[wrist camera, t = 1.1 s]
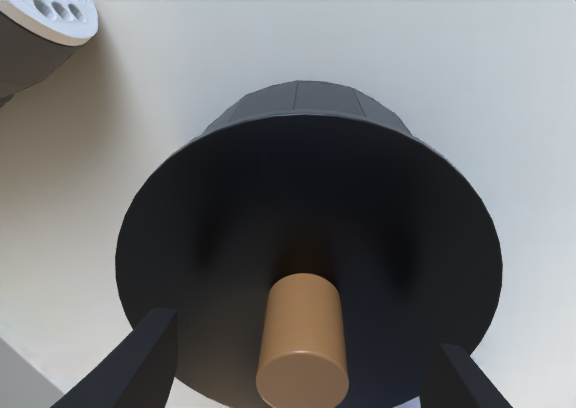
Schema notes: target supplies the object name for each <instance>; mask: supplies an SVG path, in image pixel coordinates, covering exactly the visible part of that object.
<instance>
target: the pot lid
mask: <svg viewBox="0 0 576 408" xmlns="http://www.w3.org/2000/svg"><path fill="white" fill-rule="evenodd" d="M502 268H503V263H502V255H501V248H500V242H499V239H498V235H497V232H496V229H495V226H494V223H493V220H492V218H491V216H490V214H489V212H488V211H487V209H486V207H485V205H484V203H483V201H482V199H481V198H480V196H479V195H478V194H477V193H476V191H475V190H474V189H473V187H472V186H471V185H470V183H469V182H468V181H467V179H466V178H465V177H464V176H463V175H462V174H461V173H460V172H459V171H458V170H457V169H456V168H455V167H454V166H453V165H452V164H451V163H450V162H449V161H448V160H447V159H446V158H445V157H444V156H443V155H441V154H440V153H438V152H437V151H436V150H434V149H433V148H431V147H430V146H428V145H427V144H426V143H424V142H423V141H421V140H420V139H418V138H416V137H414V136H412V135H410V134H408V133H406V132H404V131H402V130H400V129H398V128H396V127H394V126H391V125H388V124H385V123H383V122H380V121H377V120H374V119H371V118H368V117H364V116H359V115H354V114H349V113H344V112H339V111H331V110H315V109H296V110H281V111H272V112H267V113H262V114H257V115H252V116H247V117H243V118H241V119H238V120H235V121H232V122H229V123H226V124H223V125H220V126H218V127H216V128H214V129H212V130H210V131H208V132H206V133H204V134H202V135H200V136H198V137H196V138H194V139H193V140H191V141H190V142H188V143H187V144H186V145H184V146H183V147H181V148H180V149H178V150H177V151H176V152H174V153H173V154H172V155H171V156H170V157H169V158H167V159H166V160H165V161H164V162H163V163H162V164H161V165H160V166H159V167H158V168H157V169H156V170H155V171H154V172H153V173H152V174H151V175H150V177H149V178H148V179H147V181H146V182H145V183H144V185H143V186H142V187H141V189H140V190H139V191H138V193H137V194H136V195H135V197H134V199H133V201H132V203H131V205H130V207H129V209H128V210H127V212H126V214H125V217H124V220H123V223H122V226H121V229H120V232H119V235H118V241H117V248H116V255H115V270H116V282H117V287H118V293H119V298H120V300H121V303H122V306H123V309H124V312H125V315H126V317H127V319H128V321H129V323H130V325H131V327H132V329H133V330H134V329H135V327H136V326H137V325H138V324H139V323H140V322H141V321H142V320H143V319H144V318H145V317H146V316H147V315H148V313H149V312H150V311H151V310H152V309H154V308H155V307H158V308H166V309H174V310H178V361H179V362H178V366H177V370H176V373H175V377H176V378H177V379H178V380H180V381H181V382H183V383H184V384H185V385H187V386H188V387H190V388H192V389H193V390H195V391H197V392H199V393H200V394H202V395H204V396H206V397H207V398H210V399H212V400H214V401H216V402H219V403H221V404H223V405H225V406H228V407H231V408H393V407H396V406H399V405H402V404H404V403H406V402H408V401H410V400H412V399H414V398H416V397H418V396H419V390H420V388H421V385H422V383H423V380H424V378H425V375H426V373H427V370H428V368H429V366H430V363H431V361H432V358H433V356H434V353H435V351H436V348H437V346H438V344H439V343H444V344H452V345H460V346H462V348H463V349H464V350H465V351H466V352H467V353H468V355H469V356H470V355H471V354H472V352H473V351H474V350H475V349H476V347H477V346H478V345H479V343H480V342H481V340H482V339H483V337H484V335H485V333H486V332H487V330H488V328H489V326H490V324H491V322H492V319H493V317H494V314H495V311H496V309H497V306H498V302H499V297H500V292H501V287H502Z"/></svg>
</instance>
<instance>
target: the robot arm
mask: <svg viewBox="0 0 576 408" xmlns="http://www.w3.org/2000/svg"><path fill="white" fill-rule="evenodd" d="M178 362H179V361H178V310H174V309H166V308H158V307H155V308H154V309H152V310H151V311H150V312H149V313H148V315H147V316H146V317H145V318H144V319H143V320H142V321H141V322H140V323H139V324H138V325H137V326H136V327H135V329H134V330H133V331H132V332H131V333H130V334H129V335H128V336H127V337H126V338H125V339H124V340H123V341H122V342H121V343H120V344H119V345H118V346H117V347H116V348H115V349H114V350H113V351H112V352H111V353H110V354H109V355H108V356H107V357H106V358H105V359H104V360H103V361H102V362H101V363H100V364H99V365H98V366H97V367H95V368H94V369H93V370H92V371H91V372H90V373H89V374H88V375H87V376H86V377H85V378H83V379H82V380H81V381H80V382H79V383H78V384H77V385H76V386H74V387H73V388H72V389H71V390H70V391H69V392H68V393H67V394H65V395H64V396H63V397H62V398H61V399H60V400H59V401H57V402H56V403H55V404H54V405H53V406H51V407H50V408H165V405H166V403H167V400H168V397H169V393H170V390H171V387H172V384H173V380H174V377H175V373H176V370H177V366H178ZM393 408H513V407H512V406H511V405H510V404H509V403H508V401H507V400H506V399H505V398H504V397H503V396H502V394H501V393H500V392H499V391H498V390H497V388H496V387H495V386H494V385H493V384H492V382H491V381H490V380H489V379H488V378H487V376H486V375H485V374H484V373H483V371H482V370H481V369H480V368H479V367H478V365H477V364H476V363H475V362H474V361H473V359H472V358H471V357H470V356H469V355H468V353H467V352H466V351H465V350H464V349H463V348H462V346H460V345H452V344H444V343H439V344H438V346H437V348H436V351H435V353H434V356H433V358H432V361H431V363H430V366H429V368H428V370H427V373H426V375H425V378H424V380H423V383H422V385H421V388H420V390H419V396H418V397H416V398H414V399H412V400H410V401H408V402H406V403H404V404H402V405H399V406H396V407H393Z"/></svg>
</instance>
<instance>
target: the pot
mask: <svg viewBox="0 0 576 408" xmlns="http://www.w3.org/2000/svg"><path fill="white" fill-rule="evenodd" d="M296 109H315V110H331V111H339V112H344V113H349V114H354V115H359V116H364V117H368V118H371V119H374V120H377V121H380V122H383V123H385V124H388V125H391V126H394V127H396V128H398V129H400V130H402V131H404V132H406V133H408V134H410V135H412V134H411V133H410V132H409V130H408V129H407V128H406V126H405V125H404V123H403V122H402V121H401V119H400V118H399V117H398V116H397V115H396V114H395V113H394V112H392V111H390V110H389V109H387V108H386V107H384V106H383V105H381V104H380V103H379V102H377V101H376V100H374V99H373V98H371V97H369V96H367V95H365V94H363V93H361V92H359V91H357V90H356V89H354V88H351V87H346V86H342V85H338V84H333V83H328V82H320V81H297V80H296V81H293V82H287V83H282V84H278V85H273V86H270V87H267V88H264V89H262V90H259V91H256V92H254V93H250V94H247V95H245V96H244V97H243V98H242V99H240V100H239V101H238V102H237V103H235V104H234V105H233V106H231V107H230V108H228V109H227V110H226V111H225V112H224V113H223V114H222V115H221V116H220V117H219V118H217V119H216V120H215V121H214V122H213V123H211V124H210V125H209V126H208V127H207V129H206V130H205V131H204V132H203V133H202V134H204V133H206V132H208V131H210V130H212V129H214V128H216V127H218V126H220V125H223V124H226V123H229V122H232V121H235V120H238V119H241V118H243V117H247V116H252V115H257V114H262V113H267V112H272V111H281V110H296Z"/></svg>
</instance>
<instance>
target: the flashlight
mask: <svg viewBox="0 0 576 408" xmlns="http://www.w3.org/2000/svg"><path fill="white" fill-rule="evenodd" d="M98 27H99V24H98V15H97V11H96V8H95V6H94V3H93V1H92V0H0V108H1V107H2V106H3V105H4V104H5V103H6V102H8V101H9V100H10V99H11V98H12V97H13V95H14V93H15V92H18V91H20V90H22V89H25V88H27V87H30V86H32V85H34V84H37V83H39V82H40V81H42V80H44V79H45V78H46V77H47V76H48V75H49V74H50V73H52V72H53V71H54V70H55V69H56V68H57V67H58V66H60V65H61V64H62V63H63V62H64V61H65V60H66V59H68V58H69V57H70V56H71V55H72V54H73V53H74V52H76V51H77V50H78V49H79V48H80V47H81V46H82V45H83V44H85V43H86V42H87V41H88V40H89V39H91V38H92V37H93V36H94V35H95V34H96V32H97V31H98Z"/></svg>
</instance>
